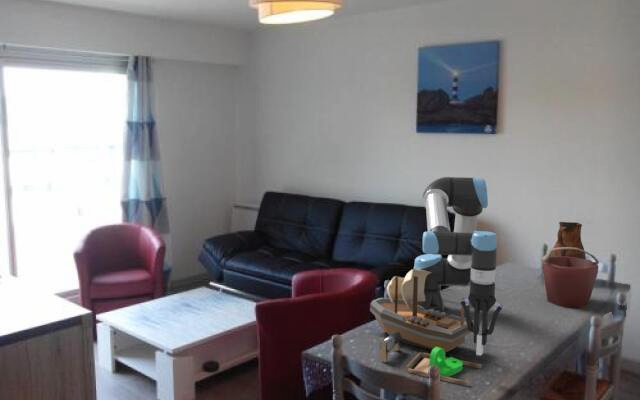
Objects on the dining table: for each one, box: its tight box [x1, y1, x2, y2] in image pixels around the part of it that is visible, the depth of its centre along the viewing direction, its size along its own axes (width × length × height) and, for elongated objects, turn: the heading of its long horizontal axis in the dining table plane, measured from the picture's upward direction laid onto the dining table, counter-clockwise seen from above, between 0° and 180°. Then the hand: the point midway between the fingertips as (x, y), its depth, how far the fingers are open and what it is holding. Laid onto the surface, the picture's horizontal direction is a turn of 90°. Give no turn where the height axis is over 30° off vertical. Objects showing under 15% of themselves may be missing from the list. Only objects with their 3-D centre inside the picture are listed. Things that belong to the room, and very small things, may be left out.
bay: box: [405, 351, 482, 387], centre depth 189 cm, size 21×15×2 cm
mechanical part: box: [429, 347, 464, 378], centre depth 188 cm, size 12×6×8 cm, turn 131°
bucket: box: [540, 247, 600, 309], centre depth 259 cm, size 24×22×25 cm
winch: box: [379, 330, 402, 363], centre depth 200 cm, size 4×13×7 cm, turn 151°
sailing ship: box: [369, 268, 474, 353], centre depth 210 cm, size 16×45×27 cm, turn 47°
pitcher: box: [550, 221, 587, 260], centre depth 291 cm, size 17×21×30 cm
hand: (479, 353), depth 182 cm, fingers closed
